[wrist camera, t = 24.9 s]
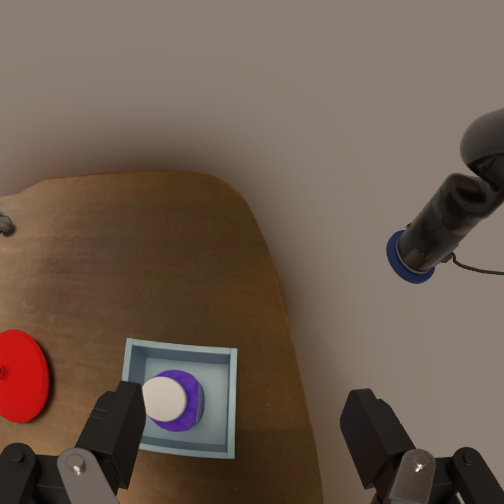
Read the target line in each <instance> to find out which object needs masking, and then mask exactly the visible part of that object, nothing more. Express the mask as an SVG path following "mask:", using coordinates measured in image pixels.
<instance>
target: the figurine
mask: <svg viewBox="0 0 504 504" xmlns="http://www.w3.org/2000/svg"><path fill="white" fill-rule="evenodd" d="M12 227H13V225H12V221H11V219H10V218H9V217H7V216H2V212H1V210H0V231H1V230H2V231H3V232H4V233H7V232H8V231H9V230H10V229H11V228H12Z"/></svg>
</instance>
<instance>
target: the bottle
mask: <svg viewBox="0 0 504 504" xmlns="http://www.w3.org/2000/svg"><path fill="white" fill-rule="evenodd" d="M142 391H143V397H144V403H145V408H146V414H147V415H148V416H149V418H150V419H151V420H152V421H154V423H155V424H156V425H158V426H159V427H160V428H162V429H165V430H167V431H172V432H180V431H183V432H184V431H187V430H189V429H191V428H192V427H193V426H195V425H196V424H197V423H199V421H200V420H201V418H202V415H203V411H204V403H205V398H204V391H203V387H202V386H201V384H200V383H199V382H198V381H197V380H196V378H195V377H194V376H193V375H191V374H190V373H187V372H184V371H182V370H167V371H163V372H161V373H159V374H158V375H156V376H154V377H153V378H151V379H150V380H148V381H147V382H146V383H145V384H144V385H143V387H142Z"/></svg>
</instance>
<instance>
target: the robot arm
mask: <svg viewBox="0 0 504 504" xmlns="http://www.w3.org/2000/svg"><path fill="white" fill-rule="evenodd" d="M460 154H461V158H462V160H463V162H464V163H465V165H466V166H467V167H468V168H469V169H470V170H471V171H472V172H474V173H475V174H476V175H477V176H479V177H473V176H468V175H464V174H460V173H453V174H451V175H449V176H448V177H447V178H446V179H445V181H444V182H443V184H442V185H441V186H440V188H439V189H438V190H437V192H436V193H435V194H434V195H433V197H432V198H431V199H430V201H429V202H428V203H427V205H426V206H425V207H424V208H423V210H422V211H421V212H420V213H419V215H418V216H417V217H416V218H415V219H414V221H413V222H412V223H410V224H408V225H407V226H406V227H408V226H409V227H408V228H407V229H406V230H405V231H404V232H403V234H402V235H400V236H399V238H398V239H397V240H396V242H395V254H396V257H397V259H398V261H399V262H400V264H401V265H402V266H403V267H404V268H405V269H406V270H407V271H408V272H410V273H412V274H415V275H423V274H425V273H427V272H428V271H429V270H430V269H433V268H434V267H435V266H436V265H437V264H439V263H440V262H441V263H446V262H448V261H449V260H450V259H451V258H452V256H453V262H454V263H455V264H456V265H458V266H460V267H462V268H465V269H468V270H472V271H476V272H481V273H487V274H497V275H504V272H496V271H487V270H481V269H476V268H473V267H469V266H466V265H462V264H461V263H459V262H457V261H456V256H455V254H454V253H453V252H452V251H453V250H454V249H455V248H456V247H457V246H458V244H459V242H460V241H461V240H462V239H463V238H464V237H465V236H466V235H467V234H468V233H469V232H470V231H471V230H472V229H473V228H474V227H475V226H476V225H477V224H478V223H479V222H480V221H481V220H483V219H486V218H488V217H489V216H490V215H491V214H492V213H493V212H494V211H495V210H496V209H497V208H498V207H500V206H501V205H502V204H503V203H504V108H502V109H499V110H496V111H493V112H490V113H487V114H485V115H483V116H481V117H479V118H478V119H476V120H475V121H474V122H473V123H472V124H471V125H470V126H469V127H468V129H467V130H466V131H465V133H464V135H463V137H462V140H461V144H460ZM451 255H452V256H451ZM145 424H146V408H145V403H144V397H143V391H142V386H141V384H140V383H134V382H128V381H120V383H119V385H118V387H117V389H116V391H115V392H111V391H107V392H106V393H104V394H103V395H102V396H101V397H100V398H98V400H97V402H96V404H95V406H94V410H92V412H91V414H90V418H88V420H87V422H86V424H85V427H84V429H83V431H82V433H81V435H80V437H79V439H78V441H77V443H76V445H75V447H74V448H70V449H67V450H65V451H63V452H62V453H61V454H60V455H59V456H49V455H37V454H35V453H34V452H33V450H32V449H31V448H30V447H29V446H28V445H26V444H23V443H12V444H10V445H8V446H6V447H5V448H4V450H3V451H2V453H1V455H0V504H120V503H119V501H118V499H117V498H116V495H117V491H118V488H122V489H127V490H128V487H129V483H130V479H131V475H132V471H133V467H134V464H135V460H136V456H137V452H138V449H139V445H140V442H141V438H142V435H143V431H144V428H145ZM340 428H341V431H342V434H343V436H344V439H345V441H346V444H347V446H348V449H349V451H350V454H351V456H352V459H353V461H354V464H355V466H356V468H357V471H358V474H359V476H360V479H361V482H362V484H363V487H364V489H365V490H366V489H370V488H374V487H375V489H376V491H377V492H376V494H375V495H374V497H373V499H372V502H371V504H461V503H460V501H459V499H458V497H457V495H456V494H457V493H458V492H459V493H460V495H461V497H462V499H463V501H464V503H465V504H504V491H503V490H502V488H501V487H500V485H499V483H498V481H497V480H496V478H495V477H494V475H493V473H492V472H491V470H490V469H489V467H488V466H487V464H486V462H485V461H484V459H483V458H482V456H481V455H480V453H479V452H478V451H476V450H475V449H473V448H470V447H463V448H460V449H459V450H457V451H456V452H455V454H454V455H453V456H452V457H445V458H434V457H433V456H432V455H431V454H430V453H429V452H427V451H425V450H422V449H416V448H415V446H414V444H413V442H412V441H411V439H410V438H409V436H408V434H407V433H406V431H405V429H404V428H403V426H402V424H400V421H399V420H398V418H397V417H396V416H395V413H394V412H393V410H392V408H391V407H390V406H389V405H388V404H387V403H386V402H384V401H383V400H382V399H376V397H375V395H374V394H373V392H372V390H370V389H369V388H367V389H358V390H351V391H350V393H349V395H348V398H347V401H346V404H345V406H344V409H343V412H342V414H341V418H340Z"/></svg>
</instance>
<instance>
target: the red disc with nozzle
mask: <svg viewBox="0 0 504 504" xmlns="http://www.w3.org/2000/svg"><path fill="white" fill-rule="evenodd" d="M49 386H50V379H49V369H48V365H47V361H46V359H45V357H44V354H43V352H42V350H41V349H40V347H39V346H38V345H37V343H36V342H35V341H34V339H33V338H32V337H30V336H29V335H28V334H26V333H25V332H22V331H19V330H8V331H5V332H3V333H1V334H0V415H1V416H2V417H4V418H6V419H8V420H9V421H12V422H18V423H21V422H26V421H29V420H31V419H32V418H34V417H35V416H36V415H38V414H39V413H40V411H41V410H42V409H43V407H44V406H45V403H46V400H47V398H48V393H49Z"/></svg>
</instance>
